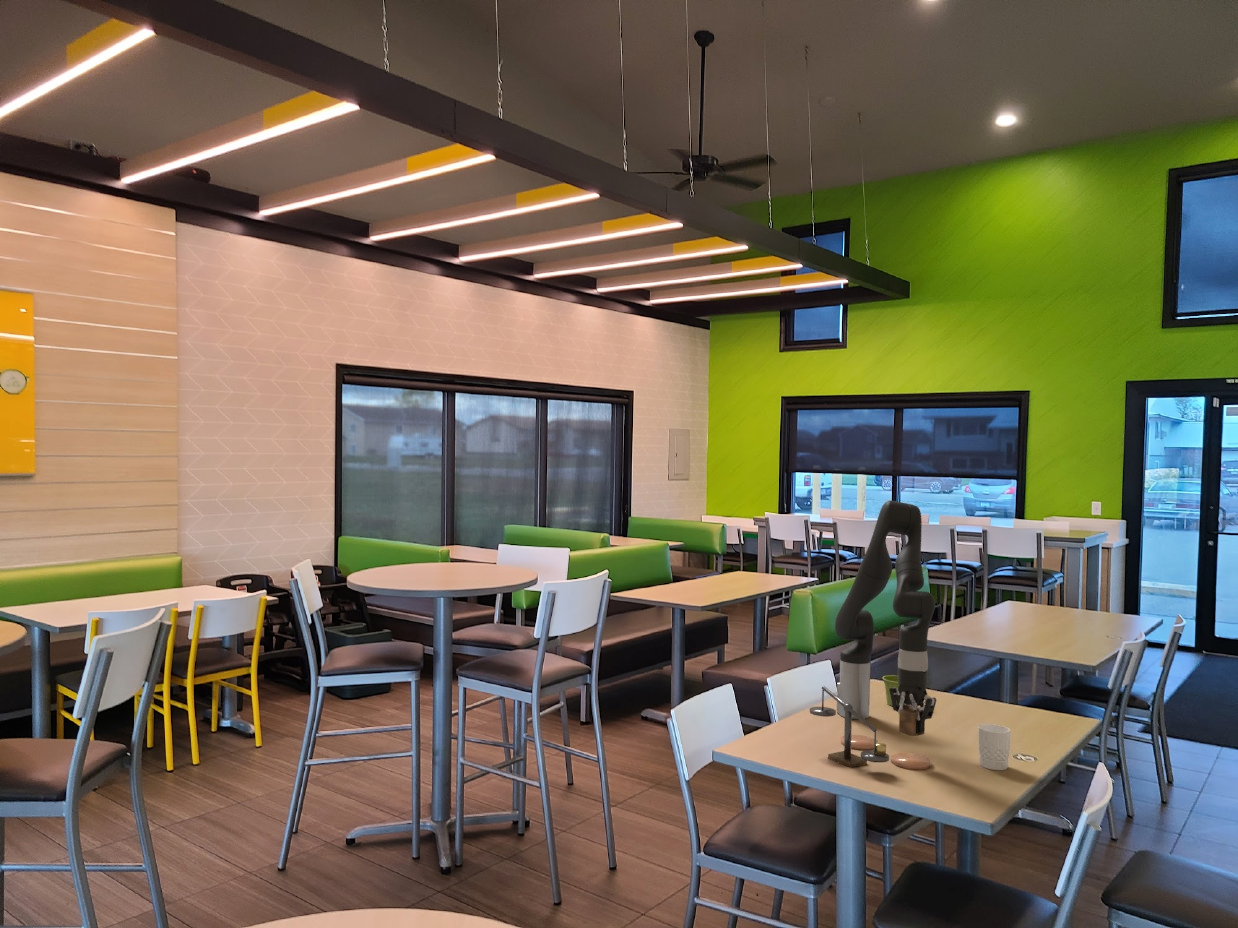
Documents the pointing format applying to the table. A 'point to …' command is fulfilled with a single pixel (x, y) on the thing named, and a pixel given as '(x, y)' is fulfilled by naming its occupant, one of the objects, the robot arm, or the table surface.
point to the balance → (846, 756)
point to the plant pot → (890, 686)
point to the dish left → (860, 742)
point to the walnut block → (908, 722)
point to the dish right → (910, 761)
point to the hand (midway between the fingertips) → (911, 730)
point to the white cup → (994, 746)
